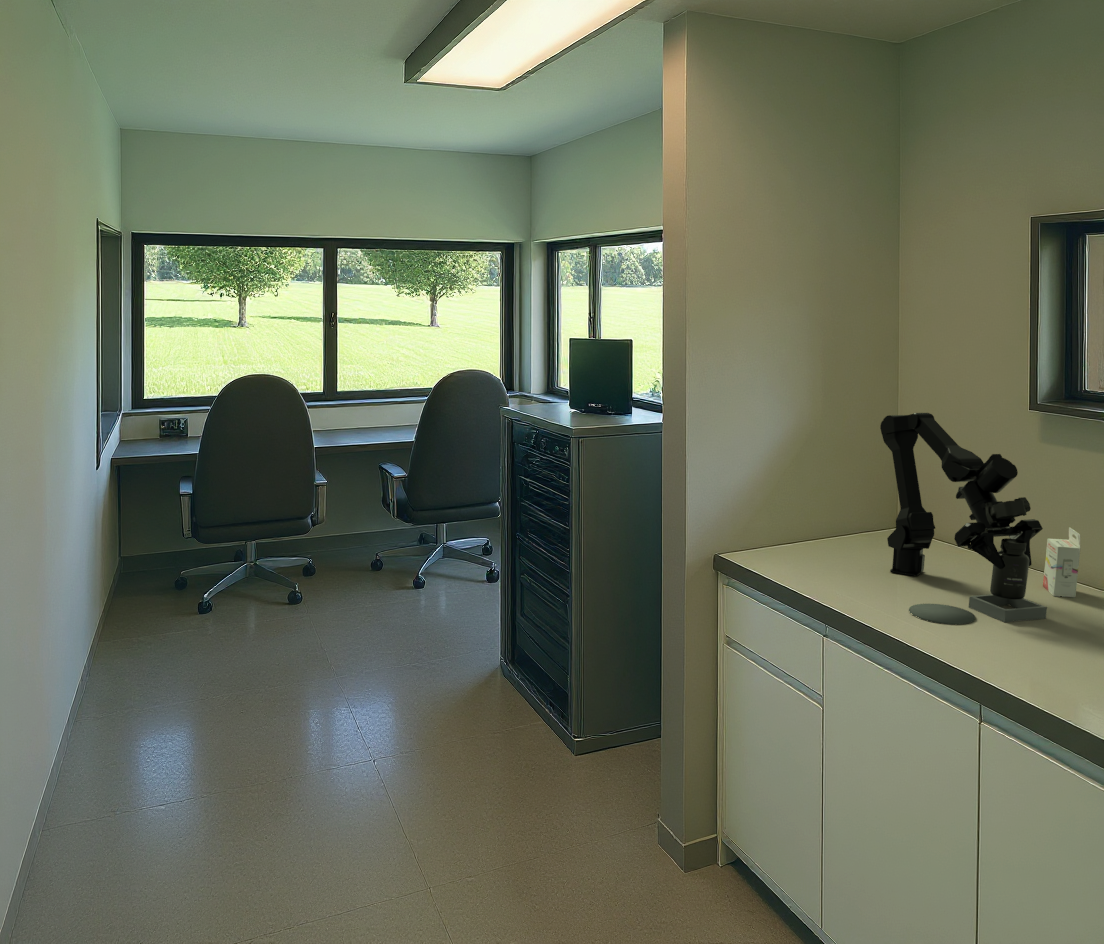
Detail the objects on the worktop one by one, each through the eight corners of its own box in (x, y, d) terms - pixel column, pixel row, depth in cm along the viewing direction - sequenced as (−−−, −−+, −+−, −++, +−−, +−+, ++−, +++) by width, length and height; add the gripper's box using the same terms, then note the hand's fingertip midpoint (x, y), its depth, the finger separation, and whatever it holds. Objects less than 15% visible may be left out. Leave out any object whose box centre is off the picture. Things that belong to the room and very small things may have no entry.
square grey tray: (968, 607, 206) (969, 596, 206) (1008, 603, 209) (1009, 592, 209) (1004, 622, 196) (1005, 610, 196) (1045, 618, 199) (1047, 607, 199)
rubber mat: (901, 616, 199) (901, 614, 199) (917, 601, 210) (917, 600, 210) (967, 628, 192) (968, 626, 192) (980, 612, 203) (980, 611, 202)
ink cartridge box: (1041, 586, 224) (1047, 525, 222) (1064, 587, 223) (1070, 526, 221) (1052, 596, 216) (1059, 533, 213) (1076, 598, 215) (1083, 534, 212)
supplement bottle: (1010, 601, 198) (1016, 546, 196) (982, 593, 204) (988, 538, 202) (1032, 597, 201) (1038, 542, 199) (1004, 589, 207) (1009, 535, 205)
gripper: (968, 485, 199) (1002, 550, 191) (1040, 482, 205) (1076, 545, 196) (940, 514, 208) (970, 576, 200) (1010, 510, 214) (1042, 571, 205)
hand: (1015, 567), depth 200 cm, fingers closed on supplement bottle, 7 cm apart
